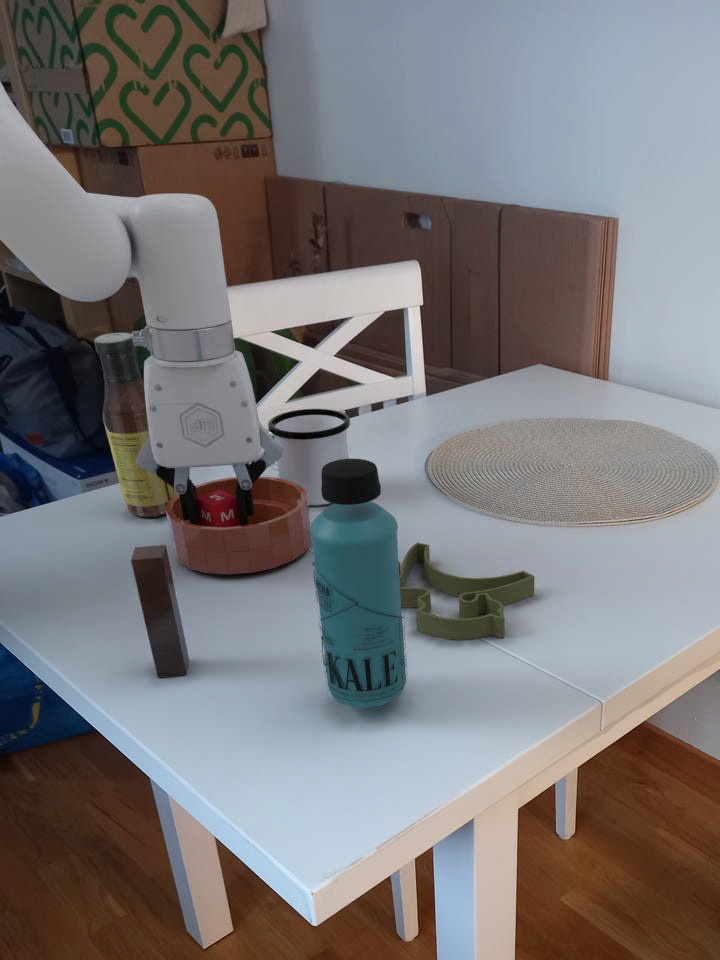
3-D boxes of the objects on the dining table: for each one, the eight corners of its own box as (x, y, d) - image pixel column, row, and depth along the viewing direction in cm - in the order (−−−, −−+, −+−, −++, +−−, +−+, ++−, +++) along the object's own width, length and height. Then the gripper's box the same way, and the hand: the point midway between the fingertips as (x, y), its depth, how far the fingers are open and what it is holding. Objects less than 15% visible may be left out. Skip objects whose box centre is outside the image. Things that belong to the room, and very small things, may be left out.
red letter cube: (200, 525, 95) (195, 498, 93) (224, 516, 97) (220, 489, 95) (217, 533, 93) (212, 505, 92) (241, 524, 95) (237, 497, 94)
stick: (157, 678, 77) (130, 559, 72) (160, 663, 79) (134, 546, 74) (186, 675, 78) (162, 557, 72) (189, 660, 80) (165, 544, 74)
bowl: (168, 585, 92) (158, 534, 89) (182, 527, 104) (174, 481, 101) (313, 572, 94) (307, 523, 91) (310, 517, 106) (305, 471, 103)
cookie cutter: (552, 597, 89) (553, 579, 88) (484, 653, 80) (484, 633, 79) (404, 553, 97) (403, 536, 96) (328, 599, 89) (326, 581, 88)
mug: (371, 488, 113) (366, 415, 108) (322, 515, 106) (314, 438, 101) (296, 470, 118) (288, 400, 114) (244, 495, 111) (233, 422, 107)
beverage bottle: (376, 670, 78) (357, 441, 68) (426, 702, 74) (415, 464, 63) (311, 701, 74) (281, 463, 64) (361, 737, 70) (337, 489, 60)
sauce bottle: (159, 495, 112) (124, 325, 101) (193, 506, 109) (161, 333, 98) (113, 513, 107) (72, 337, 97) (147, 525, 104) (108, 345, 94)
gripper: (90, 355, 81) (130, 545, 91) (284, 348, 84) (304, 532, 93) (104, 336, 88) (140, 515, 97) (284, 329, 90) (303, 504, 99)
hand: (220, 521), depth 95 cm, fingers closed on red letter cube, 4 cm apart
